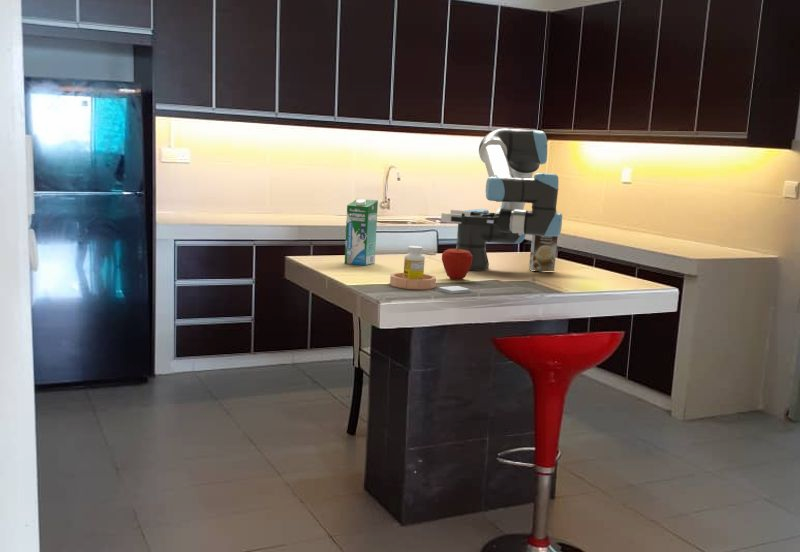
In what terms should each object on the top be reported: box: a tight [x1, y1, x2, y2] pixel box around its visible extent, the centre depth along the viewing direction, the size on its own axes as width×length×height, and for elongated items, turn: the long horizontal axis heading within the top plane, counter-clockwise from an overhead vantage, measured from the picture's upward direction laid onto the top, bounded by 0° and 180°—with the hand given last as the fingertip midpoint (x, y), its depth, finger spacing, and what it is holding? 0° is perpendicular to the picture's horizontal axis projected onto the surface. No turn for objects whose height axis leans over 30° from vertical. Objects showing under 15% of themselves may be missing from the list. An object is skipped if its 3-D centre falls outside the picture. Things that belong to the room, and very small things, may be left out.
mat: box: [430, 288, 477, 296], centre depth 249 cm, size 12×9×1 cm
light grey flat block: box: [438, 285, 471, 295], centre depth 249 cm, size 8×6×1 cm
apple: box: [441, 247, 473, 281], centre depth 274 cm, size 11×11×12 cm
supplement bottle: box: [403, 245, 425, 280], centre depth 255 cm, size 7×7×13 cm
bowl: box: [389, 272, 437, 290], centre depth 256 cm, size 15×15×4 cm
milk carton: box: [344, 198, 379, 266], centre depth 302 cm, size 9×9×25 cm
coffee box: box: [528, 235, 559, 272], centre depth 308 cm, size 9×6×16 cm
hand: (446, 215), depth 249 cm, fingers open, 13 cm apart
